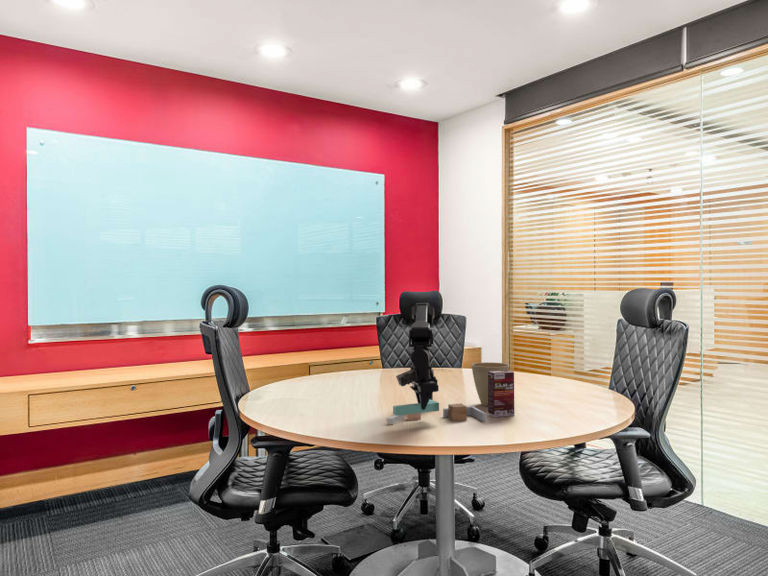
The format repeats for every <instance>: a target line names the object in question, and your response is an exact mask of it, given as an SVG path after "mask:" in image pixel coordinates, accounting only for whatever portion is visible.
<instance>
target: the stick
mask: <svg viewBox="0 0 768 576" xmlns="http://www.w3.org/2000/svg"><path fill="white" fill-rule="evenodd" d="M403 418H404V419H405V415H398V416H396V415H394V414H391V416H388V417H387V418H386V424H387V425H389V424H394V423H395V424H397V423H398V421H399V422H400V421H402V420H404V419H403ZM401 419H402V420H401ZM396 422H397V423H396ZM395 424H394V425H395Z"/></svg>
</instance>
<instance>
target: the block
mask: <svg viewBox="0 0 768 576" xmlns="http://www.w3.org/2000/svg"><path fill="white" fill-rule="evenodd" d="M467 407H468V406H467V405H465V404H463V403H460V402H459V403H449V404H447V408H448V416H449V417H448V419H449V418H450V419H449V420H451V421H452V420H453V421H452V422H459V420H462V421H468V418H467V417H468V416H467Z"/></svg>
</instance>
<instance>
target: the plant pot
mask: <svg viewBox="0 0 768 576" xmlns="http://www.w3.org/2000/svg"><path fill="white" fill-rule="evenodd" d="M471 370H472V376H473V381H474V382H473V383H474V385H475V389H476V393H477V396H478V399H479V401H480V402H479V403H481V405H482V406H484V407H488V372H491V371H507V370H508V371H510V364H508V363H504V362H474V363H472V364H471Z"/></svg>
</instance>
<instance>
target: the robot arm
mask: <svg viewBox="0 0 768 576" xmlns="http://www.w3.org/2000/svg"><path fill="white" fill-rule="evenodd" d="M411 318H412V319H413V321H414V322H413V323H412V324H411V329H409V330H408V331H409V333H408V335H409V336H408V348H412V352H411V356H410V362H411V363H412V365H410V370H407V371H404V372H401V373H398V374H397V375H396V376H395V377H396V381H397V383H398V385H399V386H401V387H405V386H406V385H410V384H411V385H410V386H409V388H410V389H411V390H412V391H413V392H414V393H415V394H414V395H415V397H416V401H417V403H421V408H422V410H425V408H426V406H427V404H428V401H429V399H431V400H433V401H434V395H433V393H436V392H439V390H440V389H439V384H438V379H437V377H436V376H434V374H435V373H434V372H435V371H434V369H433V368H432V365H430V362H431V361H430V348H432V346H433V345H434V342H435V341H434V337H435V336H434V331H433V329H431V326H432V325H433V319H435V307H434V306H432V305H431V304H430V303H429V302H417V303H415V305H413V306H412V307H411Z"/></svg>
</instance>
